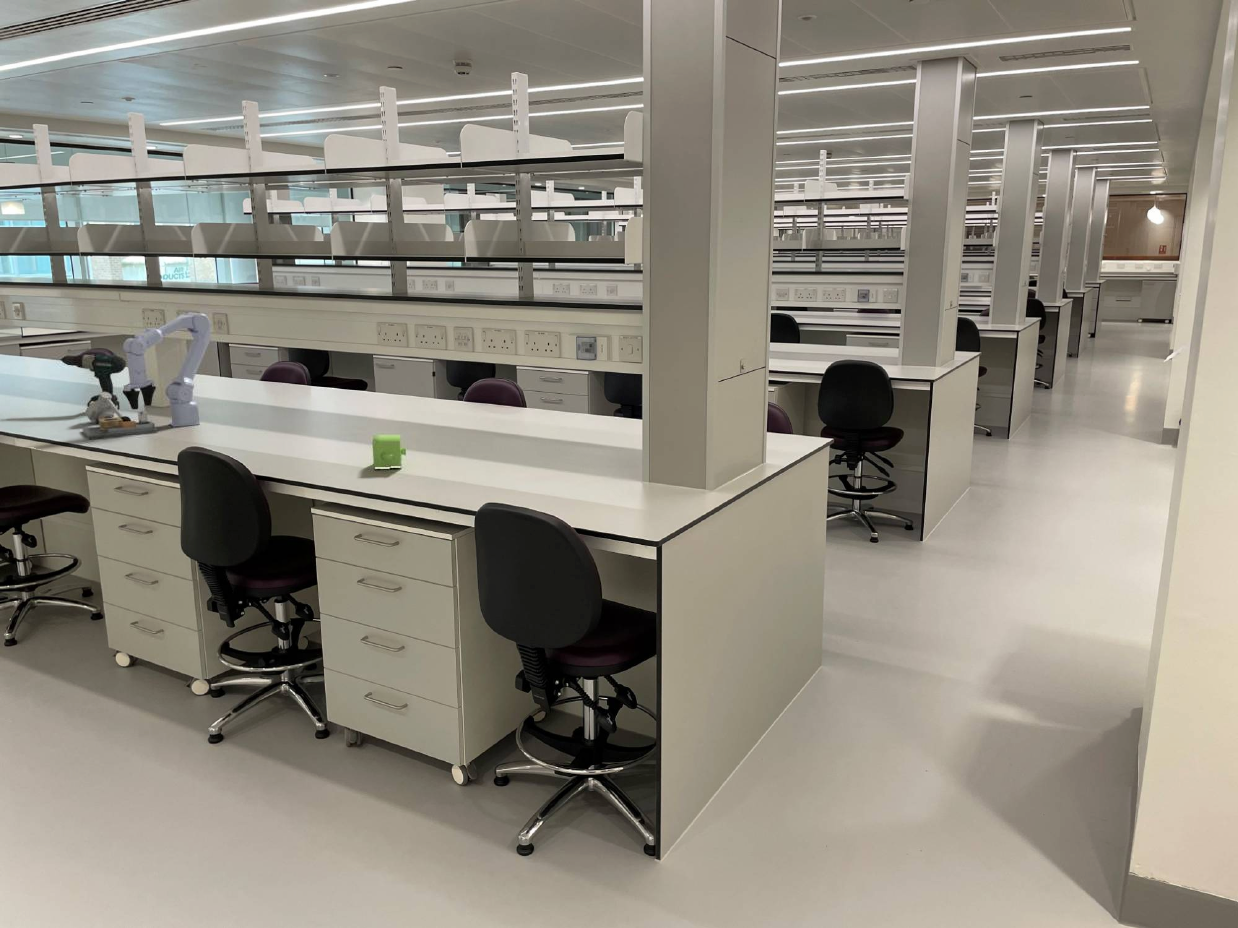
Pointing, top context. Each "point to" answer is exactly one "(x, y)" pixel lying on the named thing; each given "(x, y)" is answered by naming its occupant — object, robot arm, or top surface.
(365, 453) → the top surface
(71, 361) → the power drill
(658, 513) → the top surface
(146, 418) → the cylinder
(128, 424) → the orange rectangular block
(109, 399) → the mechanical valve
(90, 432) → the slate board
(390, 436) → the gearbox
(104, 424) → the frame
